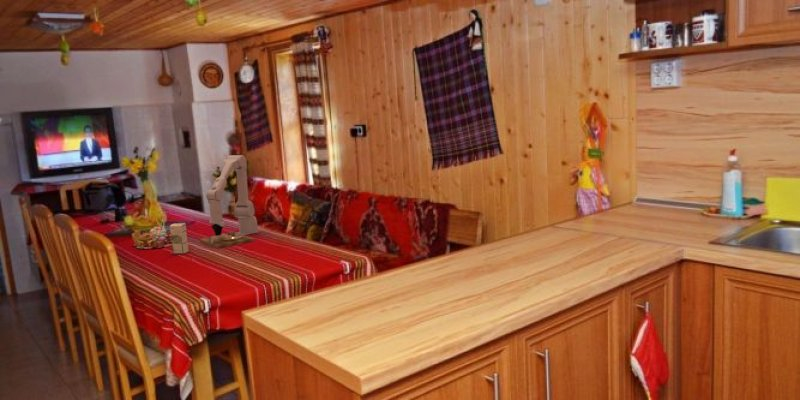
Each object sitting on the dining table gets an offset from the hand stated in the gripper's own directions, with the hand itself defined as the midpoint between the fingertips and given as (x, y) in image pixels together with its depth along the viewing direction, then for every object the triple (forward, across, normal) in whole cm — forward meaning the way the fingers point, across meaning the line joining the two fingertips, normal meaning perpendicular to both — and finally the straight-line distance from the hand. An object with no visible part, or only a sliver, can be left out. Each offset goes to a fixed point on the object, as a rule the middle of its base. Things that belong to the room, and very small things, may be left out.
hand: (218, 238), depth 322 cm
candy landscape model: (+4, -27, -22) cm, 35 cm away
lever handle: (+1, +1, +4) cm, 4 cm away
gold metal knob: (+2, +6, +4) cm, 7 cm away
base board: (+3, -2, +5) cm, 6 cm away
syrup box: (+3, +2, -21) cm, 21 cm away
